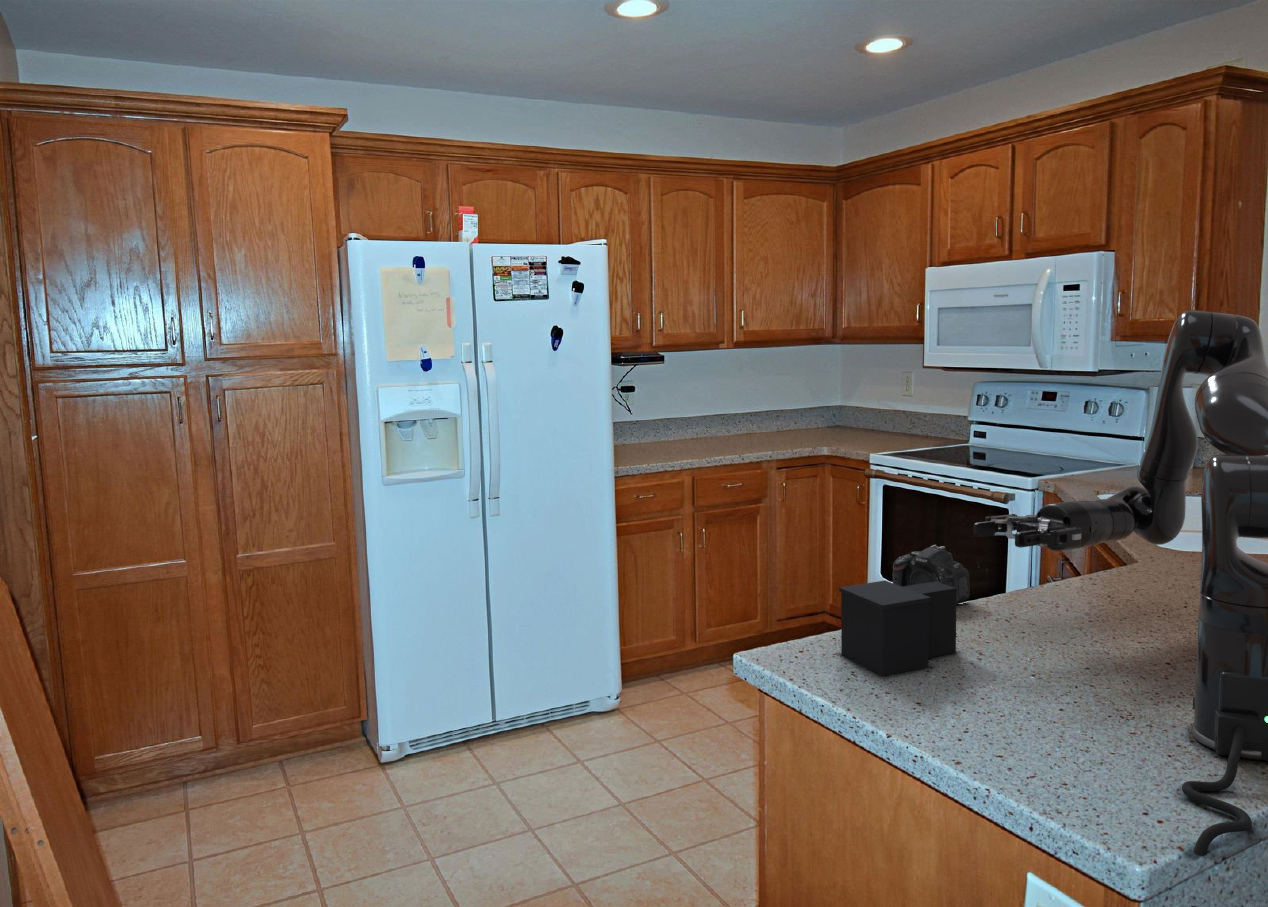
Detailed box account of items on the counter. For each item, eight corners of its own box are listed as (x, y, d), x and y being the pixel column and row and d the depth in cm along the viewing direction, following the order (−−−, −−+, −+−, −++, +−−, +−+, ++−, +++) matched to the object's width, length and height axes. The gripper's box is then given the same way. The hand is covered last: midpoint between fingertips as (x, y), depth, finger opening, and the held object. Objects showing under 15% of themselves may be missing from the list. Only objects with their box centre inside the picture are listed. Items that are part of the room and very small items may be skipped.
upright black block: (956, 652, 133) (956, 588, 132) (918, 660, 131) (918, 594, 129) (935, 643, 137) (936, 581, 136) (898, 650, 135) (898, 587, 134)
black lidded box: (930, 667, 128) (931, 597, 126) (882, 677, 125) (882, 605, 123) (884, 645, 137) (885, 580, 136) (839, 654, 134) (839, 587, 133)
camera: (886, 603, 159) (886, 549, 158) (897, 589, 168) (898, 537, 166) (965, 611, 153) (965, 555, 152) (972, 596, 161) (973, 542, 160)
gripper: (1039, 495, 148) (962, 504, 142) (1113, 508, 135) (1032, 518, 129) (1038, 539, 149) (961, 550, 143) (1112, 556, 135) (1031, 569, 129)
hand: (995, 535), depth 136 cm, fingers open, 8 cm apart
